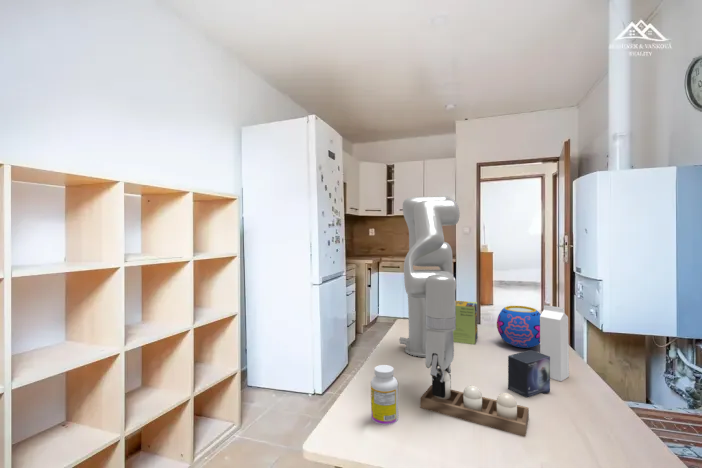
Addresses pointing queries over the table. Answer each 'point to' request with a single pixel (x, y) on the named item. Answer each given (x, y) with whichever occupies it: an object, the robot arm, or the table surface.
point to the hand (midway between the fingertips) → (441, 391)
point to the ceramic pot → (519, 326)
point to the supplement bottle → (384, 396)
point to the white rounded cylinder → (446, 385)
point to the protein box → (466, 322)
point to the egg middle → (472, 398)
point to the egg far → (507, 406)
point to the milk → (555, 341)
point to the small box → (529, 373)
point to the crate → (476, 412)
